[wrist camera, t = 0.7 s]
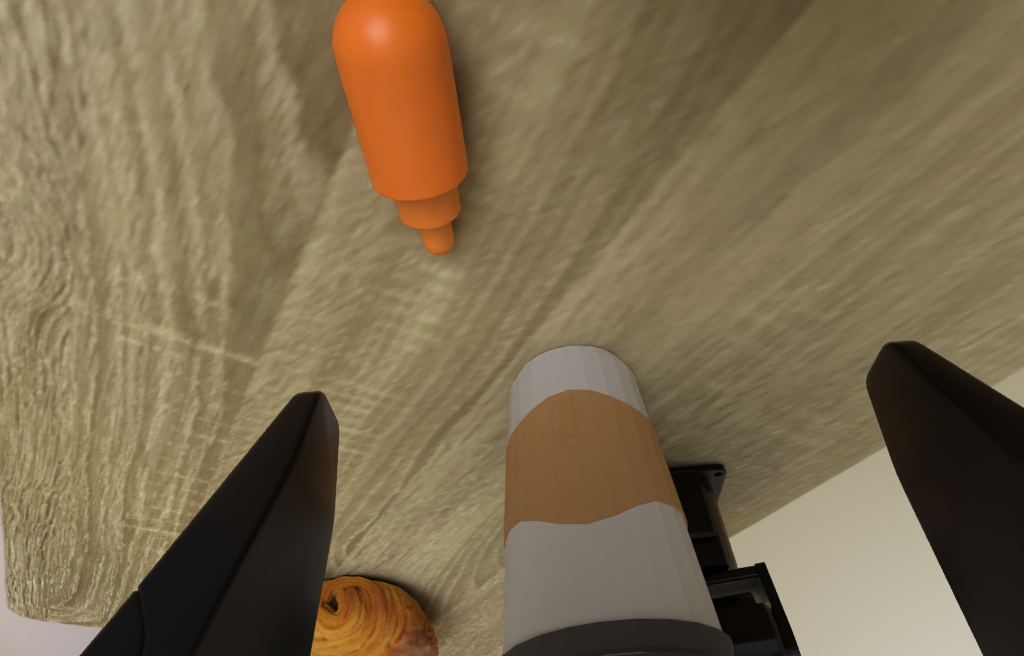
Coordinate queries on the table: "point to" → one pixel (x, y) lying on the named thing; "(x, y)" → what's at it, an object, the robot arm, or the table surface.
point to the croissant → (370, 621)
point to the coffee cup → (596, 521)
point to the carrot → (405, 109)
